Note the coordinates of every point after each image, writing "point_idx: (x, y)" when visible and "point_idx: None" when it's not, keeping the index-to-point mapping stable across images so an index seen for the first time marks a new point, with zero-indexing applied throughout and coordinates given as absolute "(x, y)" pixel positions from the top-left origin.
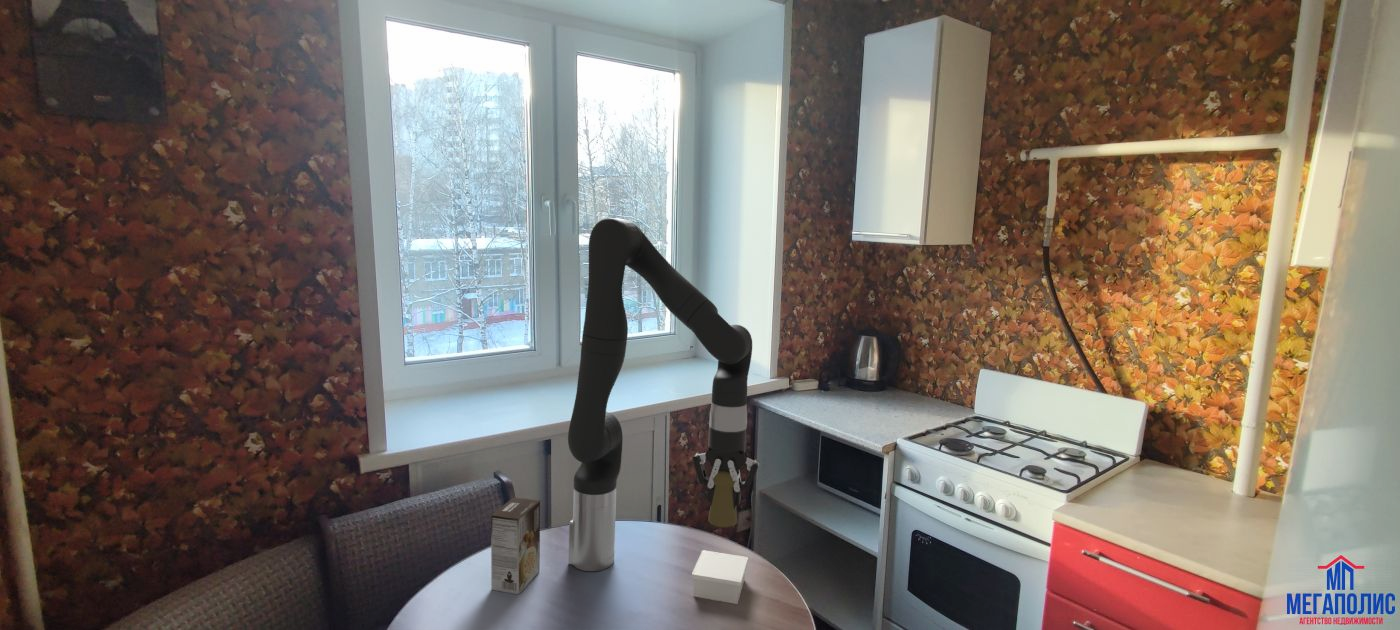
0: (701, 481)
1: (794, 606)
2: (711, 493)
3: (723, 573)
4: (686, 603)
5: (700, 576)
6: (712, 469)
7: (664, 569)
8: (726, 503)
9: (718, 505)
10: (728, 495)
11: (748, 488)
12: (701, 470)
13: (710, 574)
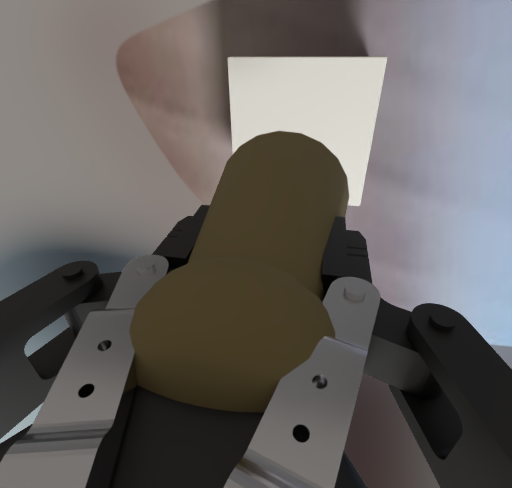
0: (447, 319)
1: (131, 94)
2: (340, 255)
3: (285, 94)
4: (388, 15)
5: (355, 57)
6: (346, 433)
7: (457, 170)
8: (235, 193)
9: (287, 186)
10: (214, 230)
11: (59, 268)
12: (495, 433)
13: (324, 75)
